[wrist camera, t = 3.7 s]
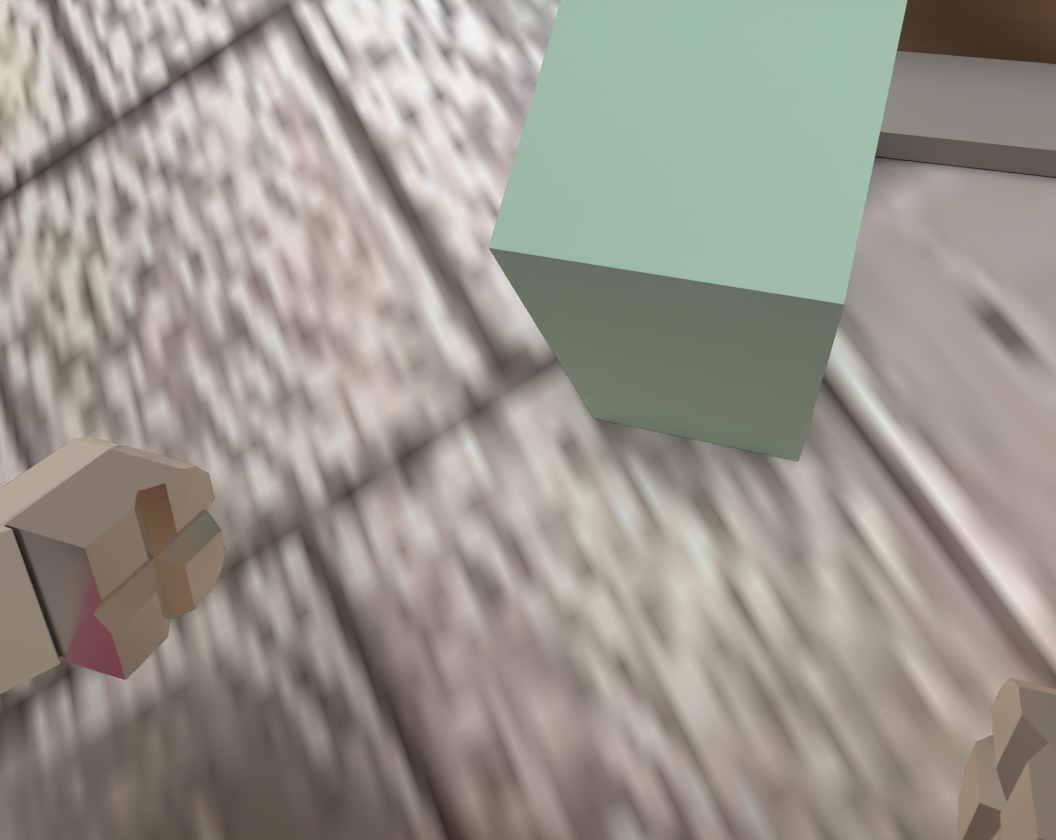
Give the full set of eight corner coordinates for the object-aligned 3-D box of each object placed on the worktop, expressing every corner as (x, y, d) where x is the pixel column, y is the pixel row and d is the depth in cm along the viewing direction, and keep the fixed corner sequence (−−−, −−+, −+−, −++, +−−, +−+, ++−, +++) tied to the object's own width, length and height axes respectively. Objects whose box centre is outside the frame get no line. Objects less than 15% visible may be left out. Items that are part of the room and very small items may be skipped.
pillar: (594, 418, 20) (489, 247, 12) (641, 237, 21) (573, -44, 13) (798, 461, 19) (843, 304, 11) (839, 266, 20) (912, -23, 11)
